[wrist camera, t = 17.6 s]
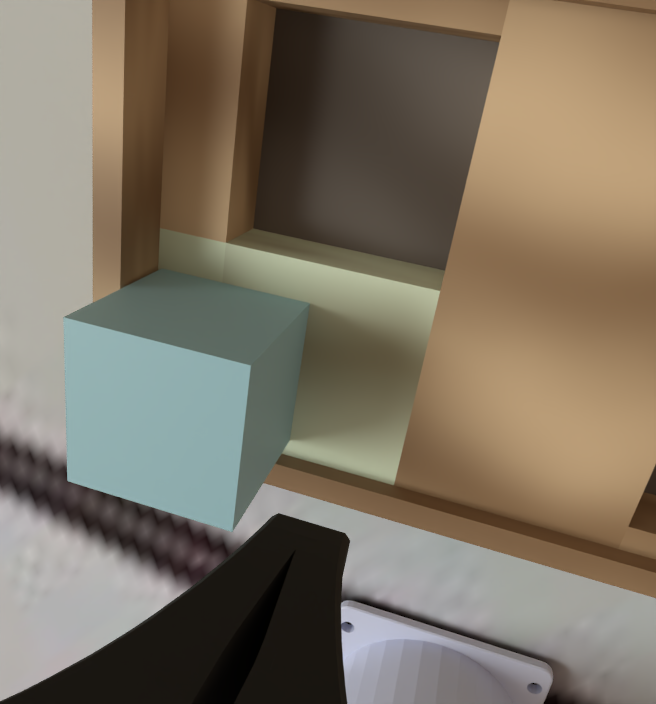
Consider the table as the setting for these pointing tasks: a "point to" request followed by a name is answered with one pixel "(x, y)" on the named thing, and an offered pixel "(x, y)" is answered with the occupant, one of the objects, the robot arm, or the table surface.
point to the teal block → (182, 393)
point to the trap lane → (416, 244)
